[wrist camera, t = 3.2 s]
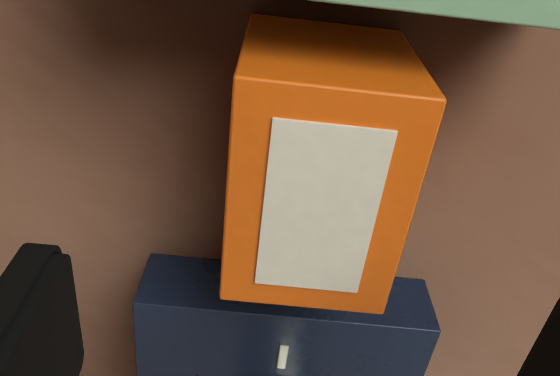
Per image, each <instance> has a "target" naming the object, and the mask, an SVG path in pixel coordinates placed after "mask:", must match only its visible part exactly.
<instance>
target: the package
mask: <svg viewBox="0 0 560 376" xmlns="http://www.w3.org/2000/svg"><path fill="white" fill-rule="evenodd" d="M446 103H447V100H446V98H445V96H444V95H443V93H442V92H441V90H440V89H439V87H438V86H437V84H436V83H435V81H434V80H433V78H432V77H431V75H430V74H429V72H428V71H427V69H426V68H425V66H424V65H423V63H422V62H421V60H420V59H419V57H418V56H417V54H416V53H415V51H414V50H413V48H412V47H411V45H410V44H409V42H408V41H407V39H406V38H405V36H404V35H403V33H402V32H401V31H399V30H391V29H382V28H374V27H365V26H356V25H348V24H339V23H330V22H322V21H313V20H305V19H296V18H287V17H279V16H270V15H261V14H251V15H250V19H249V22H248V26H247V29H246V33H245V36H244V40H243V44H242V47H241V51H240V54H239V58H238V62H237V65H236V69H235V72H234V76H233V84H232V100H231V116H230V132H229V148H228V164H227V180H226V196H225V212H224V228H223V244H222V260H221V276H220V292H219V297H220V299H222V300H232V301H243V302H253V303H264V304H275V305H286V306H296V307H307V308H318V309H329V310H339V311H350V312H361V313H372V314H383V313H384V311H385V307H386V304H387V301H388V297H389V294H390V290H391V287H392V284H393V280H394V277H395V274H396V270H397V267H398V264H399V260H400V257H401V254H402V250H403V247H404V244H405V240H406V237H407V233H408V230H409V227H410V223H411V220H412V217H413V213H414V210H415V207H416V203H417V200H418V197H419V193H420V190H421V186H422V183H423V180H424V176H425V173H426V170H427V166H428V163H429V160H430V156H431V153H432V150H433V146H434V143H435V140H436V136H437V133H438V129H439V126H440V123H441V119H442V116H443V113H444V109H445V106H446Z"/></svg>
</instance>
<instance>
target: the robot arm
mask: <svg viewBox="0 0 560 376" xmlns="http://www.w3.org/2000/svg"><path fill="white" fill-rule="evenodd" d="M83 358H84V349H83V342H82V335H81V328H80V321H79V313H78V306H77V299H76V292H75V285H74V278H73V271H72V264H71V258H70V256H69V255H68V254H62V252H61V249H60V247H59V246H57V245H46V244H35V243H25V244H23V245H22V246H21V247H20V249H19V250H18V252H17V253H16V255H15V256H14V258H13V259H12V260H11V262H10V263H9V265H8V266H7V268H6V269H5V271H4V272H3V274H2V275H1V277H0V376H79V374H80V371H81V368H82V364H83ZM517 376H560V298H559V300H558V301H557V303H556V305H555V306H554V308H553V310H552V312H551V314H550V316H549V317H548V319H547V321H546V323H545V325H544V327H543V328H542V330H541V332H540V334H539V336H538V338H537V339H536V341H535V343H534V345H533V347H532V349H531V350H530V352H529V354H528V356H527V358H526V360H525V361H524V363H523V365H522V367H521V369H520V371H519V372H518V374H517Z"/></svg>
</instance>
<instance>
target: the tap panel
mask: <svg viewBox="0 0 560 376" xmlns="http://www.w3.org/2000/svg"><path fill="white" fill-rule="evenodd" d="M220 276H221V260H212V259H201V258H191V257H181V256H170V255H160V254H150V257H149V260H148V262H147V265H146V268H145V270H144V273H143V276H142V279H141V281H140V284H139V287H138V290H137V292H136V295H135V298H134V301H133V318H134V335H135V352H136V369H137V376H424V374H425V371H426V368H427V366H428V363H429V361H430V358H431V356H432V353H433V350H434V348H435V345H436V343H437V340H438V338H439V335H440V332H441V330H440V327H439V324H438V321H437V318H436V315H435V311H434V308H433V305H432V302H431V299H430V296H429V293H428V290H427V287H426V283H425V281H424V280H420V279H409V278H399V277H394V280H393V284H392V287H391V290H390V294H389V297H388V301H387V304H386V307H385V311H384V313H383V314H372V313H361V312H350V311H339V310H329V309H318V308H307V307H296V306H286V305H275V304H264V303H253V302H243V301H232V300H222V299H220V297H219V292H220Z"/></svg>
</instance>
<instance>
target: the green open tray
mask: <svg viewBox="0 0 560 376" xmlns="http://www.w3.org/2000/svg"><path fill="white" fill-rule="evenodd" d="M309 1H317V2H326V3H334V4H343V5H351V6H360V7H368V8H377V9H385V10H394V11H402V12H411V13H419V14H428V15H437V16H445V17H454V18H462V19H471V20H479V21H488V22H496V23H505V24H513V25H522V26H530V27H539V28H547V29H556V30H560V0H309Z"/></svg>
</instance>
